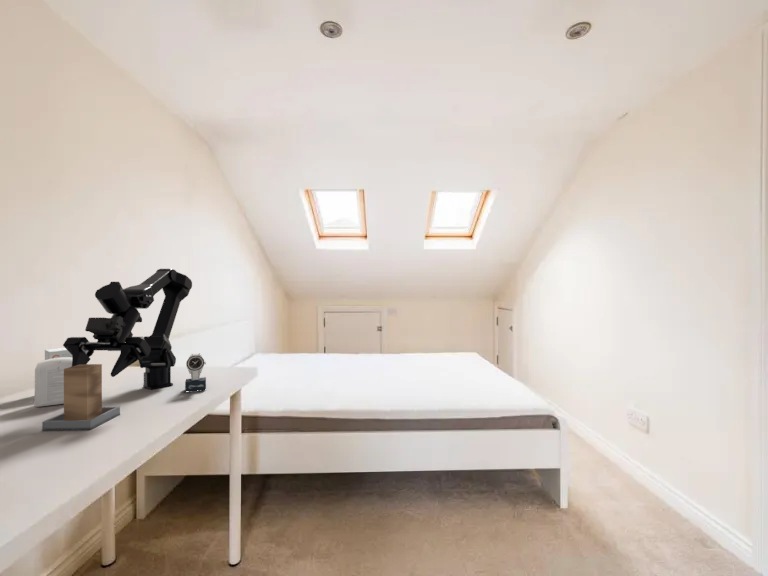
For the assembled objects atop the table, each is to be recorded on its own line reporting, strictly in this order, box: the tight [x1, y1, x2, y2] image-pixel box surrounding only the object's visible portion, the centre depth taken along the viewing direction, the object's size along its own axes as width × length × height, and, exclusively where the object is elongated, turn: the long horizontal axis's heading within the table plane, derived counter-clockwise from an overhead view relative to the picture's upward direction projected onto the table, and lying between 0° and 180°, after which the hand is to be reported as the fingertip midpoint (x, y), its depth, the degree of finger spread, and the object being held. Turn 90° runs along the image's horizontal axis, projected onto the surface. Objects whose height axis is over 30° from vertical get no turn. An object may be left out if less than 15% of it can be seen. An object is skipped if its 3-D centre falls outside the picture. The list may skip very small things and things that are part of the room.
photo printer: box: [33, 357, 72, 408], centre depth 105 cm, size 10×4×12 cm, turn 123°
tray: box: [41, 406, 121, 432], centre depth 90 cm, size 10×10×2 cm
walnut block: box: [63, 363, 103, 420], centre depth 90 cm, size 5×5×12 cm
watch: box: [184, 353, 207, 393], centre depth 118 cm, size 6×8×11 cm
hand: (92, 376), depth 93 cm, fingers open, 9 cm apart
